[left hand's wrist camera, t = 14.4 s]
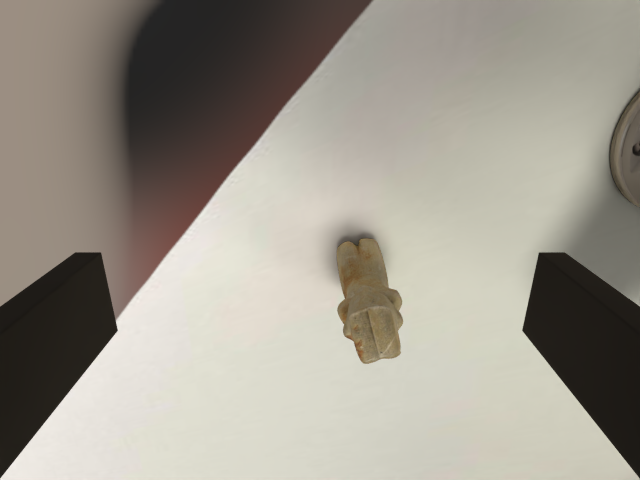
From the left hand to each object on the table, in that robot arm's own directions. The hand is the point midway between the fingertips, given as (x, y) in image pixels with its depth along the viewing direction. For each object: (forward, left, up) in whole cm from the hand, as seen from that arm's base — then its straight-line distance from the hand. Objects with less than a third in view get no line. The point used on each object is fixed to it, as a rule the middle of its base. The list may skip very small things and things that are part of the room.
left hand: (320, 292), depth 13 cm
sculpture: (+7, +12, -30) cm, 33 cm away
